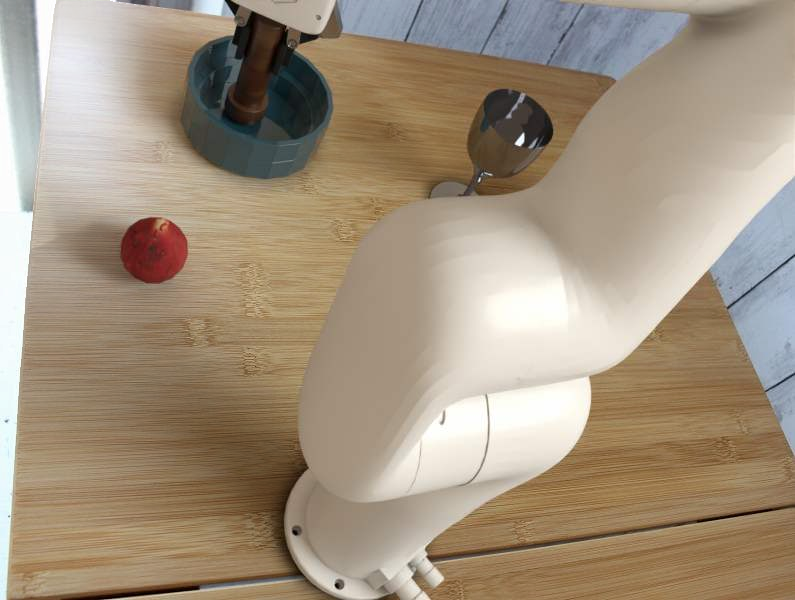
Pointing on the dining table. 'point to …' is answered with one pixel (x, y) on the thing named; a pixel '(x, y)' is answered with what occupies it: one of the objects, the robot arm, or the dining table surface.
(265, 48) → the pestle
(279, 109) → the bowl
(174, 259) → the red round fruit
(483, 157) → the wine glass
